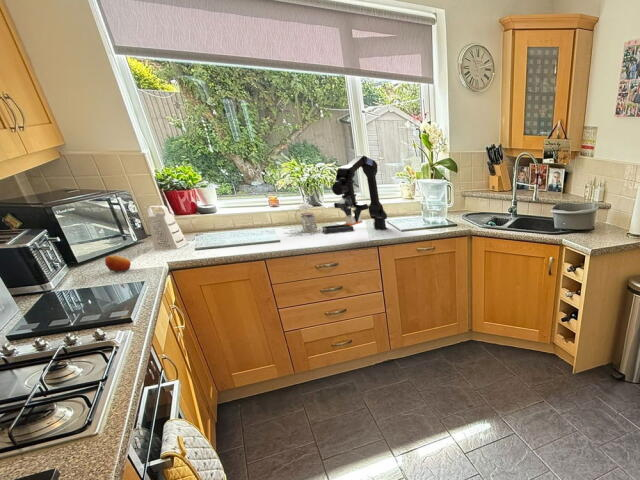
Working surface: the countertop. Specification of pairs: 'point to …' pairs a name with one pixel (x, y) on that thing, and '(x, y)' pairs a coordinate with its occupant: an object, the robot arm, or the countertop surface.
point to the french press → (309, 217)
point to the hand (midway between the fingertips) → (353, 221)
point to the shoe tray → (337, 228)
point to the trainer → (352, 220)
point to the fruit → (117, 263)
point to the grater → (165, 230)
